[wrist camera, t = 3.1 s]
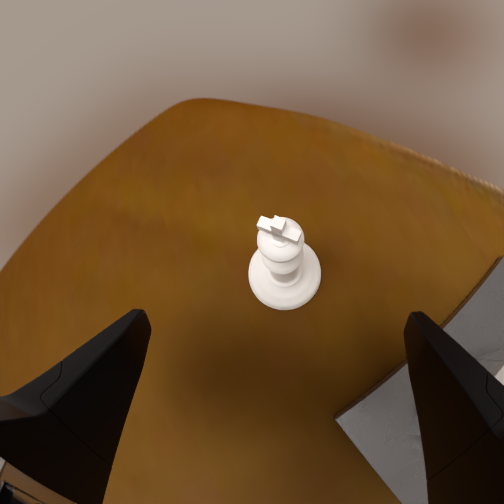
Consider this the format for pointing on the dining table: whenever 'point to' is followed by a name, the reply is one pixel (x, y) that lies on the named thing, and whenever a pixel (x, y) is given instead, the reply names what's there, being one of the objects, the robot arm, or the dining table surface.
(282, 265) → the chess piece
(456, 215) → the dining table surface
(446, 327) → the duct collar
